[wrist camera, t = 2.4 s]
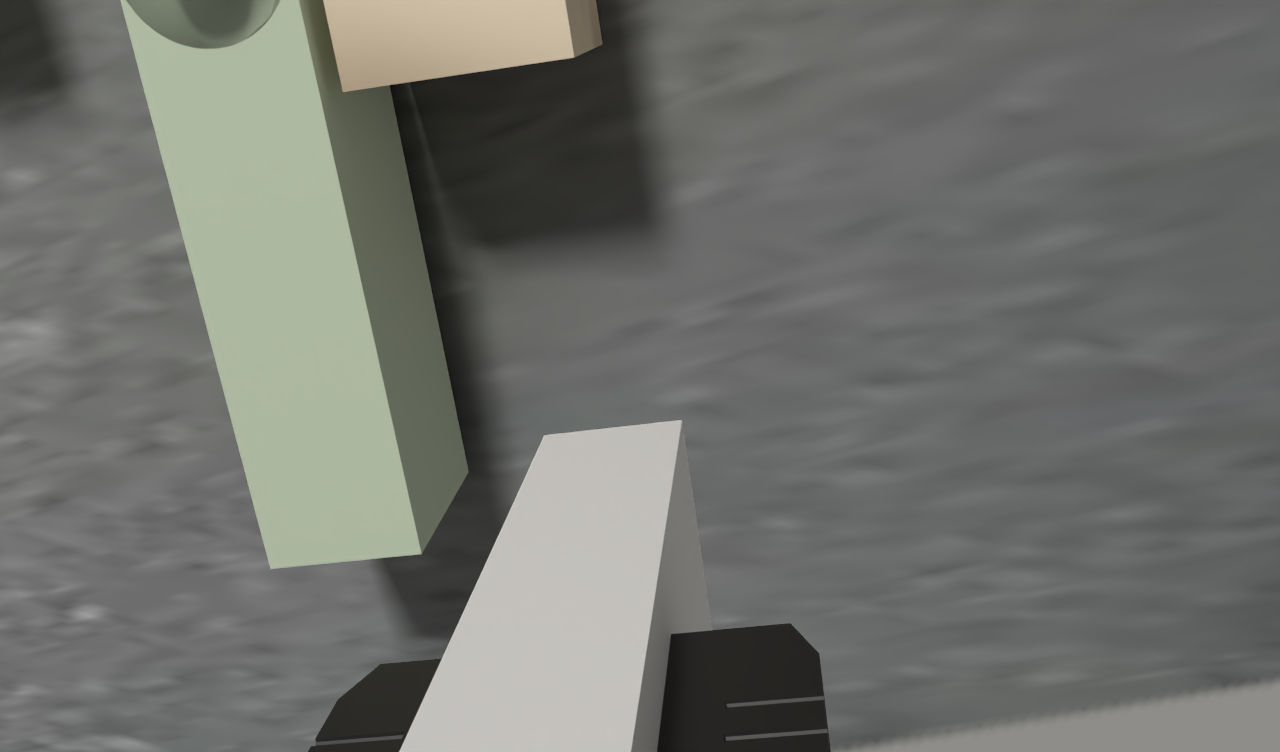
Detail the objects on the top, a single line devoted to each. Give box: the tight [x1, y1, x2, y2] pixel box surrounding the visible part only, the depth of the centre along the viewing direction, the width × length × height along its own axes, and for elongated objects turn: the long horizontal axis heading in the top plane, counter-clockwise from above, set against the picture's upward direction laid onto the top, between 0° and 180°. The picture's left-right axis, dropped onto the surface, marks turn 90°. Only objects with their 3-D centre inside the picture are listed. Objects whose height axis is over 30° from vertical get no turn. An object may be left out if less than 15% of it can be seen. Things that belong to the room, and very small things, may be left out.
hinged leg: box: [121, 0, 469, 569], centre depth 23 cm, size 12×3×5 cm, turn 8°
